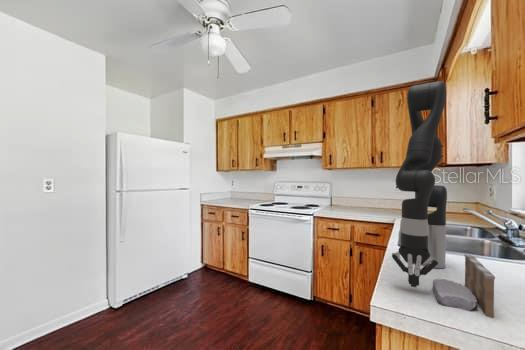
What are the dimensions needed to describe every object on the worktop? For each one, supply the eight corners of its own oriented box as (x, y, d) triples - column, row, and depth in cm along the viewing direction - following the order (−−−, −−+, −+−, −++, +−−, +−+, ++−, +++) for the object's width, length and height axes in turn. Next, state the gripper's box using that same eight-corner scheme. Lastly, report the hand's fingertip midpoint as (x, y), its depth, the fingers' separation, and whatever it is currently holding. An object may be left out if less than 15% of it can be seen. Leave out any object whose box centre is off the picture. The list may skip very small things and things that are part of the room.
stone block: (466, 300, 74) (429, 287, 79) (471, 286, 74) (432, 273, 78) (480, 322, 64) (435, 305, 68) (485, 306, 63) (440, 290, 68)
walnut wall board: (464, 285, 80) (464, 253, 80) (471, 286, 79) (471, 254, 79) (485, 315, 63) (485, 275, 63) (494, 317, 62) (494, 276, 62)
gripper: (437, 232, 76) (436, 286, 76) (390, 227, 82) (389, 277, 82) (442, 237, 70) (441, 296, 70) (390, 231, 76) (390, 286, 76)
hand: (413, 285), depth 76 cm, fingers closed
